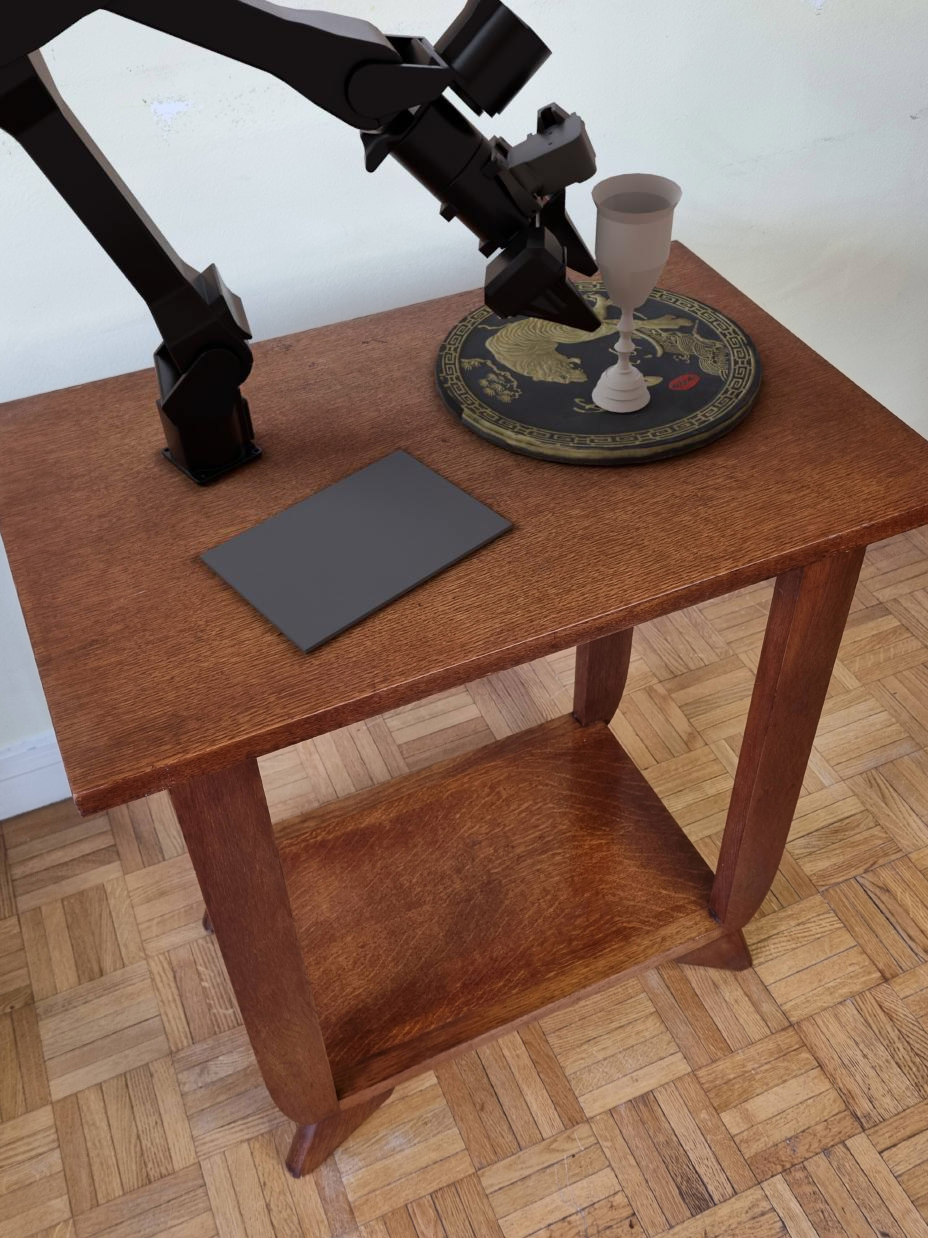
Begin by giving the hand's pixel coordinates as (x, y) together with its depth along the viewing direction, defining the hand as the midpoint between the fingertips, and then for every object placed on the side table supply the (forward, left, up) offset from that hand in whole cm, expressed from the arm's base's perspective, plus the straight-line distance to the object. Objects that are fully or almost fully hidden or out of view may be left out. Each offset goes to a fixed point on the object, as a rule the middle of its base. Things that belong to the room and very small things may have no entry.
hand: (596, 299), depth 89 cm
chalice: (+2, -2, -9) cm, 10 cm away
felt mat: (-26, 0, -11) cm, 28 cm away
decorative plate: (+5, +4, -11) cm, 13 cm away
